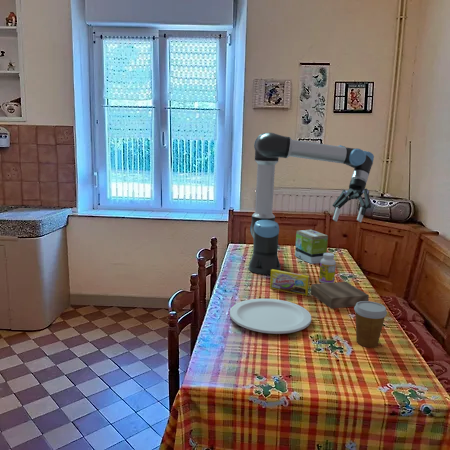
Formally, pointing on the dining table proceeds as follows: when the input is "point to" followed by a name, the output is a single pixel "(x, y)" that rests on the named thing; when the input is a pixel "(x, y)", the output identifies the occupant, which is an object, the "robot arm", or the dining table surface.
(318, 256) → the tea box
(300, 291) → the candy box
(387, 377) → the dining table surface
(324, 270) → the supplement bottle
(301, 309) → the plate
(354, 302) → the walnut stand
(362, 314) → the disposable coffee cup
